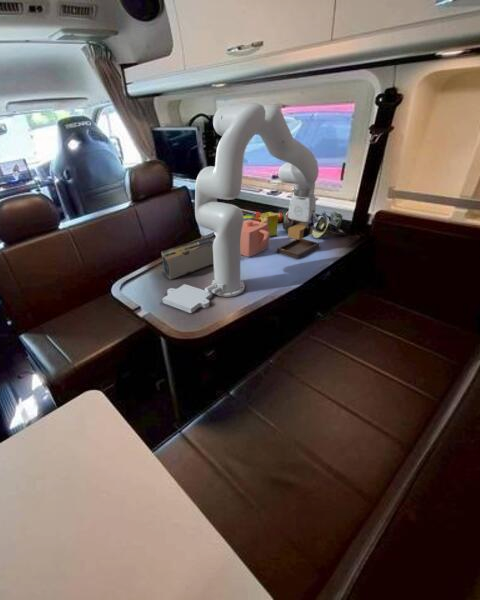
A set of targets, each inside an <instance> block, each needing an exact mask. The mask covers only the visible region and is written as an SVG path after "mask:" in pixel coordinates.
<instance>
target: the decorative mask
mask: <svg viewBox="0 0 480 600" xmlns="http://www.w3.org/2000/svg"><path fill="white" fill-rule="evenodd" d="M274 213H275V214H278V223H283V222H284V216H285V214H284V213H283V214H282V213H279V212H274ZM261 214H262V213H261V212H260V211H255V214H243V216H244V220H243V221H246V220H254V221H259V222H261ZM252 216H253V217H252Z"/></svg>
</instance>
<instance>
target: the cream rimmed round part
mask: <svg viewBox="0 0 480 600" xmlns="http://www.w3.org/2000/svg"><path fill="white" fill-rule="evenodd" d="M317 217H318V220H319V221H318V222H317V223H315V224H314V226H313V228H314V229H313V230H312V236H313V238H314V239H318V238H320V237H321V236H323V235H324V234H326V233H327V232H328V233H329V232H330V233H332V234H337V235H343V236H346V235H347V232H346V230H344V229H342V228H341V227H340V228H338V227H336V226H335V225H332V224H329V221H330V217H329V216H328V214H327V213H326V211H323V212H322V213H321V215H319V216H317Z"/></svg>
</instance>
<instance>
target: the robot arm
mask: <svg viewBox="0 0 480 600" xmlns="http://www.w3.org/2000/svg"><path fill="white" fill-rule="evenodd" d="M212 125H213V129H214V131H215V133H216V134H217V135H219V136H221V138H220V139H219V141H218V144H217V146H216V150H215V151H216V152H215V162H214V166H212V165H210V166H206V167H203V168H202V169H200V171H199V173H198V174H197V177H196V179H195V185H194V187H195V189H194V216H195V221H196V223H197V225H198V226H200V227H201V228H203V229H206V230H210V231H212V230H213V232H217V236H215V237H214V239H213V262H214V264H213V279H212V281H211V284H210V285H208V286H206V287H205V288H204V290H205V291H206V292H211V293H212V294H214V295H216V296H217V297H218V296H219V297H225V298H232V297H236V296H238V295H240V294H242V293H243V292H244V291H245V287H246V286H245V283H244V282H243V281H242V280H241V255H240V239H241V230H242V226H243V220H244V213H243V211H242V209H241V208H240V207H239V206H237V205H234V204H232V203H227V202H221V201H220V202H219V201H218V199H219V200H225V201H226V200H227V201H231V200H235V199H237V198H238V197H239V196H240V194H241V190H242V183H243V171H244V159H245V153H246V149H247V147H248V145H249V143H250V142H251V141H252V139H253V138H254V137H255V136H256V135H258V136H259V137H261V140H262V142H263V143H264V145H265V147H266V149H267V151H268V153H269V154H270V155H271V156H272V157H273V158H275V159H278V160H279V161H282V162H285V163H283V164H282V165H281V166H280V167H279V169H278V173H277V177H278V179H279V181H281V182H283V183H286V184H294V187H292V189H291V191H292V192H293V194H292V195H291V198H290V200H289V204H288V205H289V206H288V211H289V212H288V213H287V214H286V215H285V216H286V217H287V218H288V220H289V222H290V225H291V227H292V226H294V225H296V224H297V223H296V221H301V222H304V223H305V226H306V228H304V238H307V237H309V236H310V235H311V234H310V228H311V227H312V226H313V225H314V224H315V223H317V222H318V221H319V220H318V218H317V217H318V216H317V214H316V209H317V207H316V206H317V205H316V204H317V201H316V195H315V188H316V181H317V179H318V177H319V171H320V170H319V165H318V160H317V159H316V157H315V155H314V153H313V152H312V151H311V150H310V149H309V148H308V147H307V146H306V145H304V144H303V143H302V142H300V141H299V140H297V139H296V138H294V137H293V135H292V133H291V130H290V128H289V125H288V123H287V122H286V119H285V117H284V115H283V112H282V110H281V109H280V107H279V106H278V105H276V104H272V103H265V104H260V103H257V102H245V103H244V102H243V103H238V104H237V103H236V104H229V105H223V106H220V107H219V108H218V109H217V110H216V111H215V113H214V115H213V118H212ZM311 220H313V222H311ZM313 227H314V226H313ZM309 234H310V235H309Z"/></svg>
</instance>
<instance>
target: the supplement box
mask: <svg viewBox="0 0 480 600" xmlns="http://www.w3.org/2000/svg"><path fill="white" fill-rule="evenodd" d="M275 213H276V212H273V211H268V212H263V213H262V212H261V213H260V214H261V222H262V221H267V222H266V223H268V227H269V233H270V237H269V238H274V237H277V236H278V223H279V222H278V214H275Z"/></svg>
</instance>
